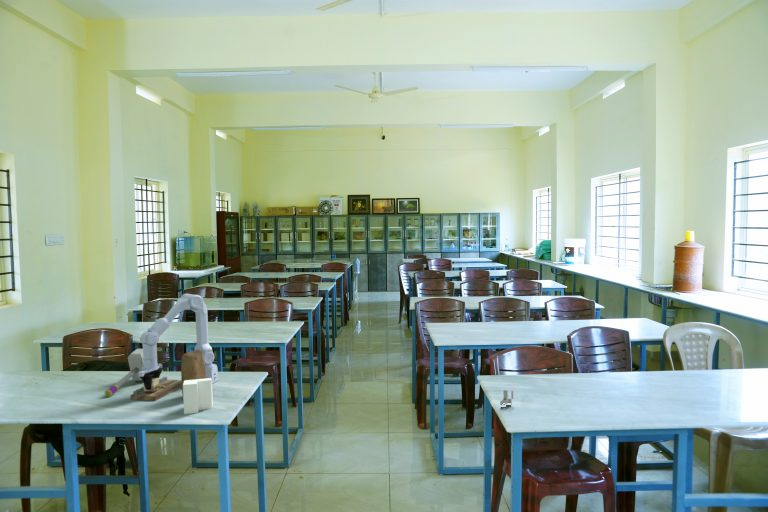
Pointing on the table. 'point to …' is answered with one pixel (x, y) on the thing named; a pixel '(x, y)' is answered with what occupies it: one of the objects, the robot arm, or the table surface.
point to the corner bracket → (197, 395)
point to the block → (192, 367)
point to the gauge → (154, 385)
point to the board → (161, 392)
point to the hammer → (135, 367)
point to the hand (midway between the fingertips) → (151, 388)
